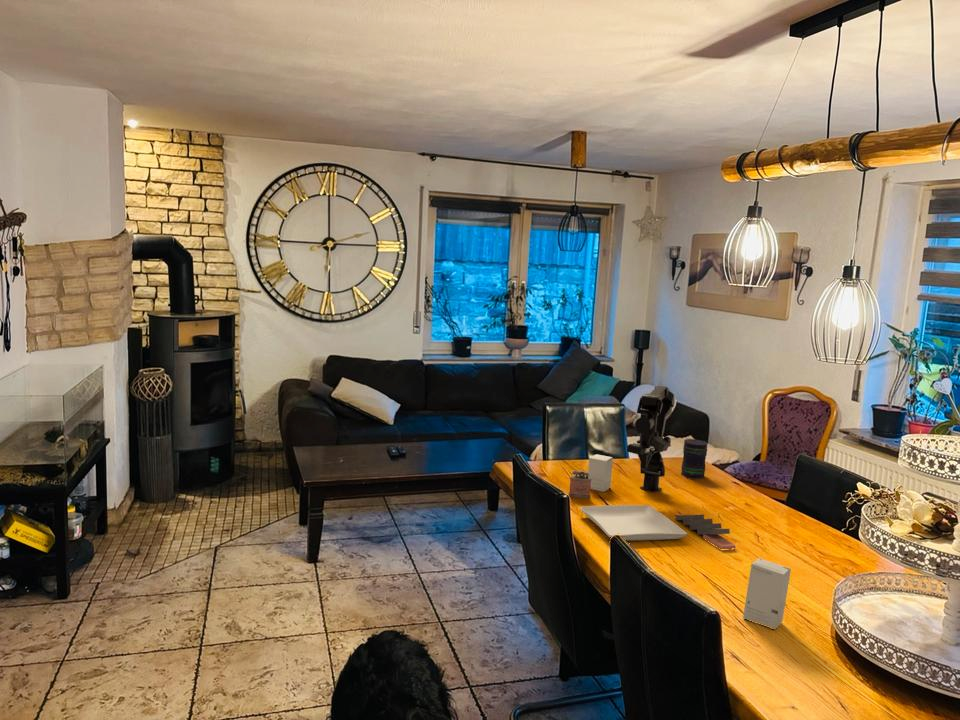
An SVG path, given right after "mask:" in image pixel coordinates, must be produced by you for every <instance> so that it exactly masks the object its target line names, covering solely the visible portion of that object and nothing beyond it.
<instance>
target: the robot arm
mask: <svg viewBox="0 0 960 720" xmlns="http://www.w3.org/2000/svg"><path fill="white" fill-rule="evenodd" d="M675 404H676V399H675V394H674V393H673V392H672V391H670V388H669V387H667V386H665V385H655V386H654V389H653V390H652V391H651V392H650V393H643V394H642V395H641V396H640V398H639V402H638V405H637V409H636V414H639V415H640V417H638V418H637V419H636V420H635V422H634V428H635V430H636V431H637V433H638V434H639V440H636V443H635V442H634V443H629V444H627V445H626V449H625V451H626V452H627V453H630V454H634V455H637V456H638V458H639V461H640V463H639V464H640V471H639V472H640V474H644V475H643V477H644V478H643V485H641V486H639V488H640V489H642V490H645V491H648V492H651V493H656V492H658V491H661V490H662V489H663V487H660V478H662V477H665V475H666V474H665V473H666V468H665V462H664V459H663V456H662V453H663V452H667V451H668V448H669V447H671V437H669V436H664V434H665V433H664V432H665V426H666V422H667V418H668V416H670V415H671V413H672V412H673V408H675Z"/></svg>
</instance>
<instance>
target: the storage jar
mask: <svg viewBox="0 0 960 720" xmlns="http://www.w3.org/2000/svg"><path fill="white" fill-rule="evenodd" d="M682 449H683V451H682V453H683V458H682V462H681V473H680V474H681V476H683V477H685V478H688V479H693V480H694V479H695V480H701V479H704V478H705V473H706V459H707V455H708V442H707V441H705V440H702V439H694V438H686V439H684V441H683V448H682Z"/></svg>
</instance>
